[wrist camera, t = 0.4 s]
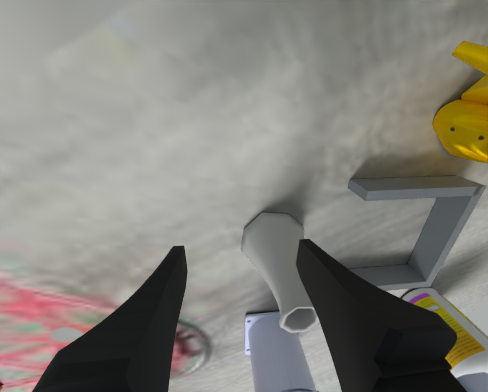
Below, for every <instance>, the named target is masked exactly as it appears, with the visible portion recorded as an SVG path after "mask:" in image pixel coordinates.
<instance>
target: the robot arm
mask: <svg viewBox="0 0 488 392" xmlns="http://www.w3.org/2000/svg"><path fill="white" fill-rule="evenodd" d="M296 267H297V270H298V273H299V276H300V279H301V281H302V284H303V286H304V288H305V290H306V292H307V295H308V297H309V299H310V301H311V303H312V305H313V307H314V309H315V312H316V314H317V316H318V319H319V321H320V324H321V327H322V330H323V332H324V335H325V338H326V341H327V344H328V347H329V350H330V353H331V356H332V359H333V363H334V366H335V369H336V372H337V376H338V379H339V382H340V386H341V390H342V392H488V373H485V372H481V373H474V374H466V375H462V376H459V377H457V378H455V376H454V375H453V374H452V373H451V372H450V370H451V369H452V366H451V365H450V364H449V362H448V361H447V360H446V359H445V357H446V356H447V355H448V353H449V352H450V351H451V349H452V348H453V347H454V345H455V343H456V342H457V334H456V332H455V331H454V330H453V329H452V328H451V327H450V326H449V325H448V324H447V323H446V322H445V321H444V320H443V319H442V318H441V317H440V316H439V315H438V314H437V313H435V312H432V311H430V310H427V309H425V308H422V307H420V306H417V305H414V304H412V303H410V302H407V301H405V300H403V299H401V298H399V297H396V296H394V295H392V294H390V293H388V292H386V291H384V290H382V289H380V288H378V287H377V286H375V285H373V284H371V283H369V282H368V281H366V280H364V279H363V278H361V277H359V276H358V275H356V274H355V273H353V272H352V271H350V270H349V269H347V268H346V267H344V266H343V265H341V264H340V263H339V262H337V261H336V260H335V259H333V258H332V257H331V256H330V255H328V254H327V253H326V252H325V251H323V250H322V249H321V248H320V247H318V246H317V245H316V244H315V243H313V242H312V241H311V240H310V239H300V241H299V247H298V253H297V259H296ZM186 280H187V264H186V256H185V249H184V246H173V247H172V249H171V250H170V251H169V253H168V254H167V256H166V257H165V258H164V260H163V261H162V262H161V264H160V265H159V266H158V267H157V269H156V270H155V271H154V272H153V274H152V275H151V276H150V277H149V278H148V279H147V280H146V281H145V283H144V284H143V285H142V286H141V287H140V288H139V289H138V290H137V291H136V292H135V293H134V294H133V295H132V296H131V297H130V298H129V299H128V300H127V301H126V302H124V303H123V304H122V305H121V306H120V307H119V308H118V309H116V310H115V311H114V312H113V313H112V314H111V315H109V316H108V317H107V318H106V319H104V320H103V321H102V322H100V323H99V324H98V325H96V326H95V327H94V328H92V329H91V330H90V331H88V332H87V333H85V334H84V335H82V336H81V337H79V338H78V339H76V340H75V341H73V342H72V343H70V344H69V345H67V346H66V347H64V348H63V349H61V350H60V351H58V353H57V354H56V355H55V357H54V358H53V360H52V361H51V362H50V364H49V365H48V367H47V369H46V370H45V372H44V373H43V375H42V377H41V378H40V380H39V381H38V383H37V385H36V386H35V388H34V390H33V391H32V392H168V387H169V378H170V370H171V362H172V354H173V347H174V339H175V333H176V327H177V323H178V318H179V314H180V310H181V306H182V301H183V297H184V293H185V288H186ZM280 316H281V313H280V311H279V312H269V313H259V314H249V315H246V316H245V354H246V355H250V356H251V364H252V372H253V380H254V388H255V392H319V391H316V388H315V385H314V382H313V379H312V376H311V373H310V370H309V367H308V364H307V361H306V358H305V355H304V352H303V349H302V346H301V343H300V340H299V337H298V334H297V333H290V332H288V331H287V330H285V329H283V328H281V327H280V325H279V319H280Z"/></svg>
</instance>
